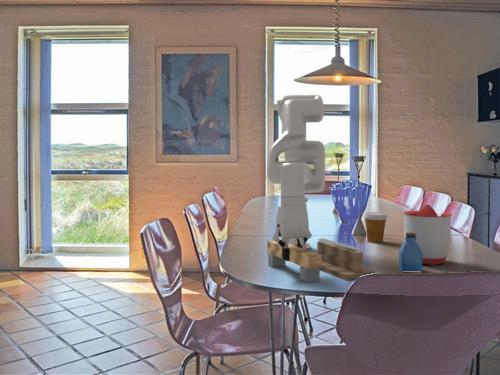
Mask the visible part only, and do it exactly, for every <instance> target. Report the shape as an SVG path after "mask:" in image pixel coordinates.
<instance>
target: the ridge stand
mask: <svg viewBox="0 0 500 375" xmlns="http://www.w3.org/2000/svg"><path fill="white" fill-rule="evenodd" d="M316 248H317V249H316V253H318V254H321V268H320V271H321V272H324V273H327V274H329V275H332V276H334V277H337V278H340V279H343V280H344V281H348V280H356V278H357V277H360V276H362V275H366V274H371V273H375V274H376V270H374V269H370V268H367V267H364V264H363V262H364V261H363V258H364V256H363V254H364V253H363V251H362V248H359V247H355V246H351V245H348V244H345V243H340V242H338V241H333V240H330V239H326V238H318V241H317V243H316ZM357 279H358V278H357Z"/></svg>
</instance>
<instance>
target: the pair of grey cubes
mask: <svg viewBox="0 0 500 375" xmlns="http://www.w3.org/2000/svg"><path fill="white" fill-rule="evenodd" d="M267 254H268V256H267V258H268V262H267V265H268V267H271V268H277V267H285V266H286V265H287V264H286V262H287V261H286V260H283V259H282V258H280V257H277V256H275V255H272V254H270V253H267ZM320 273H321V270H320V268H319V269H311V270H309V269H307V268H304V267H302V266H299V280H300V281H301V282H304V283H311V282H316V281H320V279H321V278H320V277H321V276H320V275H321V274H320Z"/></svg>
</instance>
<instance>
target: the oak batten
mask: <svg viewBox="0 0 500 375" xmlns="http://www.w3.org/2000/svg"><path fill="white" fill-rule="evenodd" d="M266 244H267V247H266V249H267V254H269V253H270V254H272V255H275V256H277V257H280V258H282V247H281V246H280V245H279V244H278V243H277V242H276V241H274V240H273V239H272V240H267V243H266ZM288 248H289V261H288V262H289V263H292V264H295V265H297V266H299V267H300V266H302V267H304V268H307V269H309V270H311V269H319V268H321V254H318V253H317V252H315V251H311V250H310V249H303V248H300V247H297V246H294V245H291V244H288ZM282 259H283V258H282Z"/></svg>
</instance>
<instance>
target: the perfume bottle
mask: <svg viewBox="0 0 500 375" xmlns="http://www.w3.org/2000/svg"><path fill="white" fill-rule="evenodd" d="M416 239H417V238H416V233H406V237H405V240H406V243H404V242H402V244H401V246H400V247H399V249H398V269H399V271H400V272H401V271H422V272H423V264H422V255H423V254H422V252H421V250H420V248H419V246H418V244H417V243H415V241H416Z"/></svg>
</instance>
